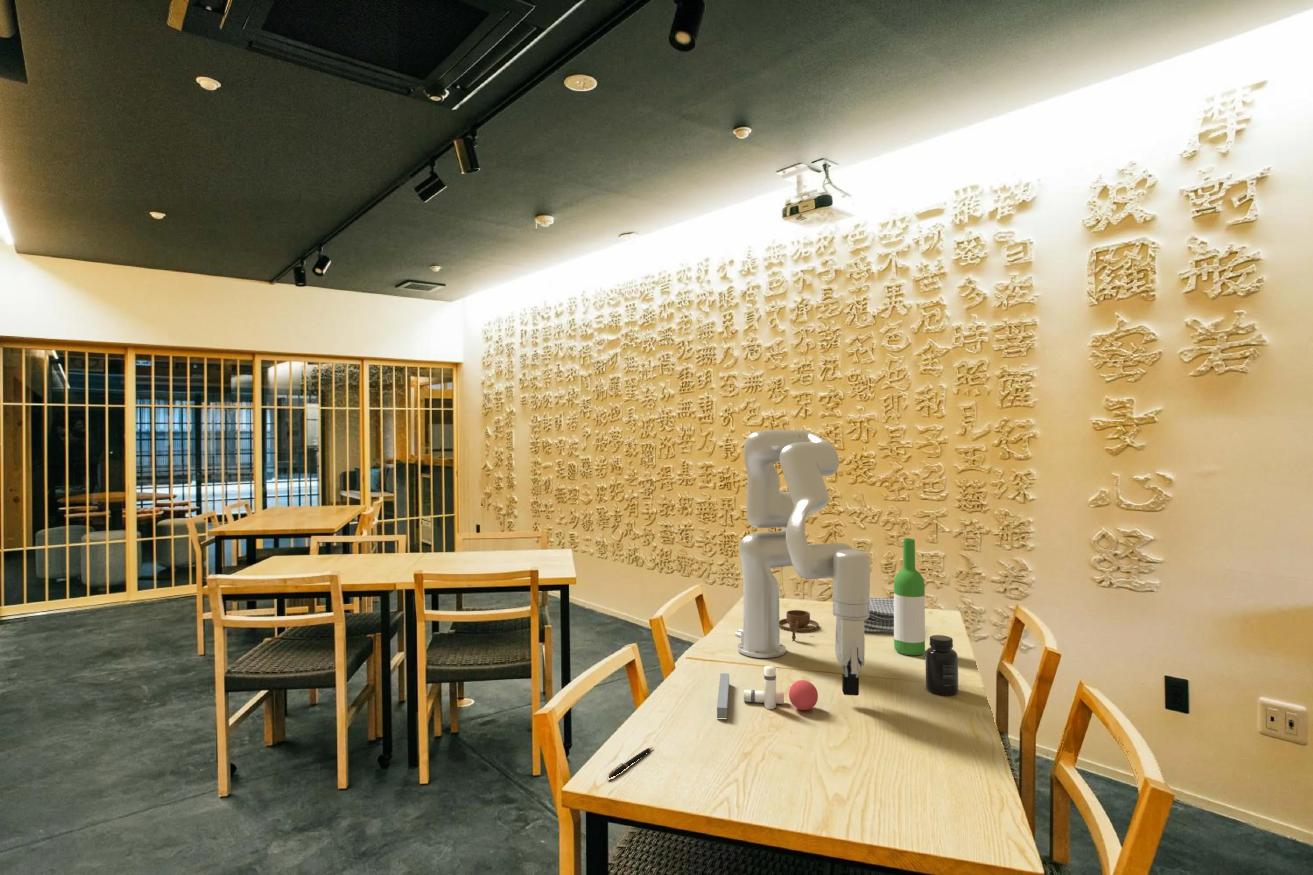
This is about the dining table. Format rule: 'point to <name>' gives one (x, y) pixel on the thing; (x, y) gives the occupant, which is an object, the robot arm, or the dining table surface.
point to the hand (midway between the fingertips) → (850, 693)
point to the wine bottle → (909, 605)
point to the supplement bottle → (941, 666)
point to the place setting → (798, 622)
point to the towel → (880, 616)
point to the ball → (803, 695)
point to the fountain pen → (628, 763)
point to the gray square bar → (723, 696)
